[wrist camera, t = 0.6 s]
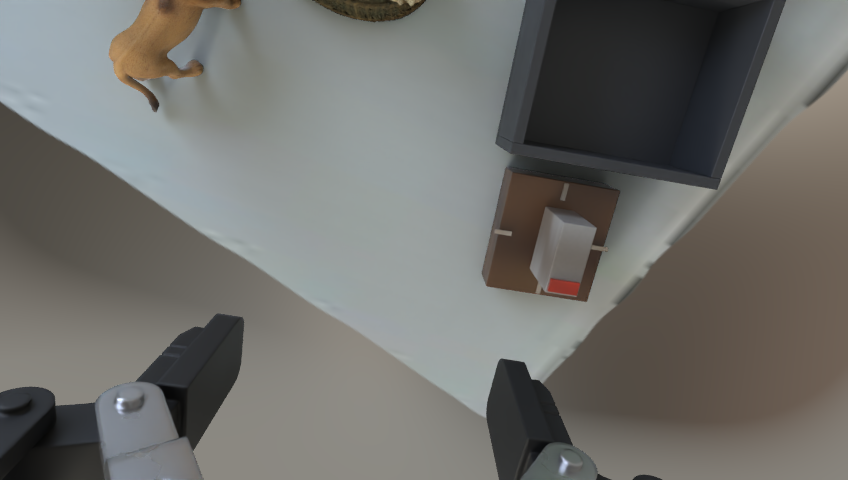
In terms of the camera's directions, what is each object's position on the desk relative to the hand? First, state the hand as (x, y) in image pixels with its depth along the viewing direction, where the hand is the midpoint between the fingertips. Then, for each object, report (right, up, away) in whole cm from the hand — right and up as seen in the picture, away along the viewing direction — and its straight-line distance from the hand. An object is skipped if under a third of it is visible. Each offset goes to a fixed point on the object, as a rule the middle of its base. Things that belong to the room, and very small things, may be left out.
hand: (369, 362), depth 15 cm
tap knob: (+12, +4, +24) cm, 28 cm away
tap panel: (+12, +5, +27) cm, 30 cm away
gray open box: (+17, +17, +24) cm, 33 cm away
